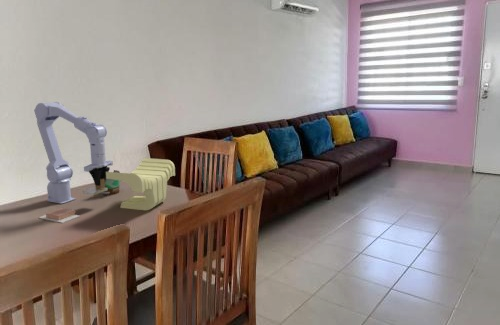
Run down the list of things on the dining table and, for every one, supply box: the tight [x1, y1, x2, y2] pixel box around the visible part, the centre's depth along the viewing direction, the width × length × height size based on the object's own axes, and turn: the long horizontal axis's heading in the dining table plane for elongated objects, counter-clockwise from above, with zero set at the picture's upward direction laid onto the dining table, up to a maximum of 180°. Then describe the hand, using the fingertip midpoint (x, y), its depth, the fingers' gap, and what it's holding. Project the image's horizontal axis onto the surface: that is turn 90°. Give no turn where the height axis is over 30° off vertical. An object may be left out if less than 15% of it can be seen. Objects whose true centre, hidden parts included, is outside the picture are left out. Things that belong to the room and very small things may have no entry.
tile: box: [45, 207, 76, 220], centre depth 158 cm, size 7×2×8 cm
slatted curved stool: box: [106, 157, 176, 211], centre depth 172 cm, size 30×16×18 cm, turn 165°
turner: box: [82, 178, 108, 196], centre depth 168 cm, size 8×6×5 cm
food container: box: [102, 169, 121, 196], centre depth 191 cm, size 12×6×10 cm, turn 168°
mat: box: [38, 214, 80, 224], centre depth 157 cm, size 13×8×1 cm, turn 66°
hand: (100, 184), depth 171 cm, fingers closed on turner, 2 cm apart
